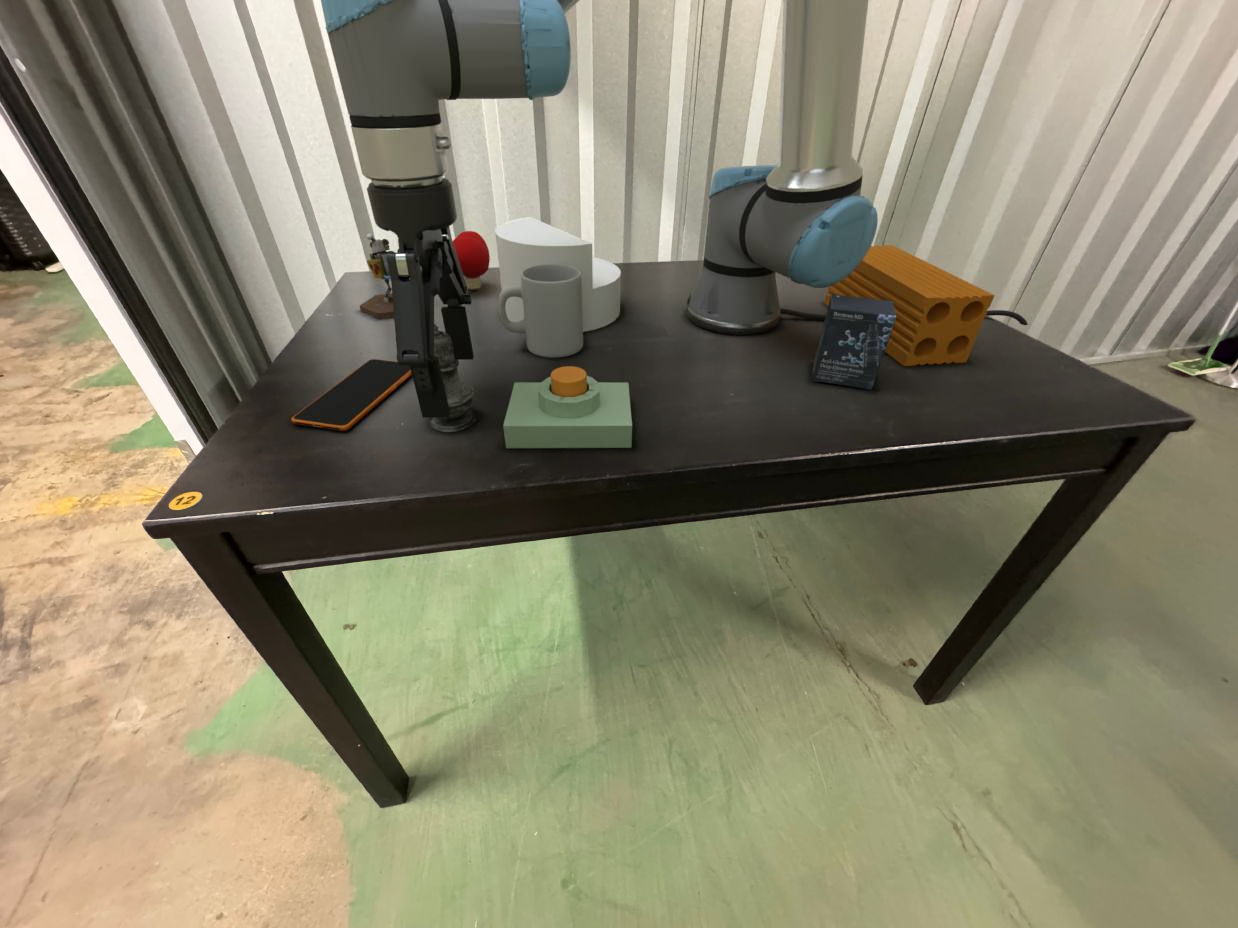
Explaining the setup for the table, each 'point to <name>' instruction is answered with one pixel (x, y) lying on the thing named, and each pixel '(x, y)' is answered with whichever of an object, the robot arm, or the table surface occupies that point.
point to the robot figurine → (378, 264)
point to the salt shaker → (452, 388)
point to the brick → (919, 305)
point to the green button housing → (569, 417)
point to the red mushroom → (472, 257)
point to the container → (549, 245)
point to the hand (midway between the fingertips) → (450, 384)
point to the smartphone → (354, 395)
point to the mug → (548, 309)
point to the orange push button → (569, 381)
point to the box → (853, 341)
